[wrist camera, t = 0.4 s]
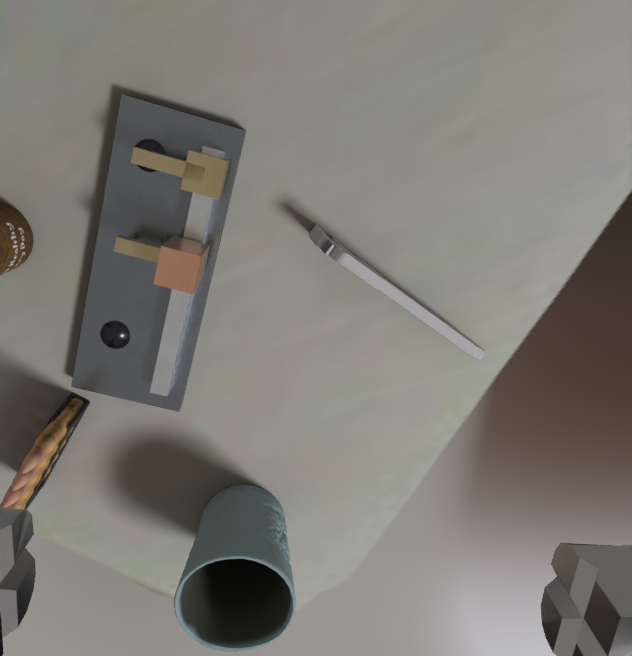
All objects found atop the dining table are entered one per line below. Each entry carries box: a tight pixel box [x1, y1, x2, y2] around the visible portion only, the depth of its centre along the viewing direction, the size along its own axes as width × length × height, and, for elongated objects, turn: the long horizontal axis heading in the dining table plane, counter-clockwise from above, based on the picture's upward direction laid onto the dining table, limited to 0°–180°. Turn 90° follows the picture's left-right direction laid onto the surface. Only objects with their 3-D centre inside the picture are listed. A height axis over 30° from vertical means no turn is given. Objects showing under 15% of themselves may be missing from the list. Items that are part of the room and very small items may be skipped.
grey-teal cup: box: [174, 485, 296, 652], centre depth 55 cm, size 10×10×12 cm
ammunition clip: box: [0, 393, 90, 510], centre depth 51 cm, size 11×2×12 cm, turn 148°
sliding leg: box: [114, 234, 210, 294], centre depth 47 cm, size 3×7×6 cm, turn 74°
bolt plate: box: [71, 94, 246, 412], centre depth 50 cm, size 26×10×5 cm, turn 164°
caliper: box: [309, 224, 486, 360], centre depth 51 cm, size 20×1×6 cm, turn 53°
